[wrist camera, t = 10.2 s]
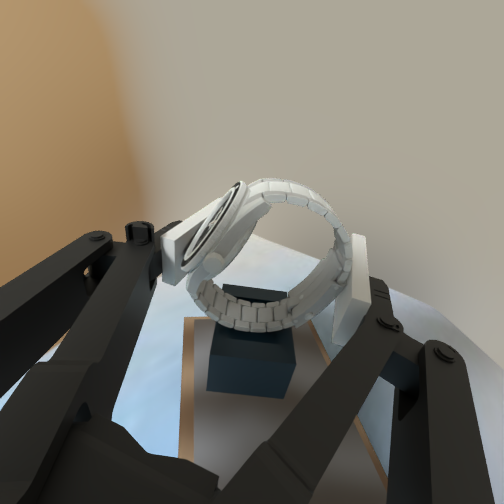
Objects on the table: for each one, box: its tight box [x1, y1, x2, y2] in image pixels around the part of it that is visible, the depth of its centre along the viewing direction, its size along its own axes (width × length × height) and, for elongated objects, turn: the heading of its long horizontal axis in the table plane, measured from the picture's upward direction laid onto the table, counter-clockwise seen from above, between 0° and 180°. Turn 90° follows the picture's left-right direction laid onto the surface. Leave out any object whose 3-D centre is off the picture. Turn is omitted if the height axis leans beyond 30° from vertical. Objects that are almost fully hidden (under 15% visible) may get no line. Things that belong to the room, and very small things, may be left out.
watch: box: [181, 178, 353, 399], centre depth 14 cm, size 6×8×11 cm
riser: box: [178, 317, 388, 504], centre depth 22 cm, size 20×14×5 cm
